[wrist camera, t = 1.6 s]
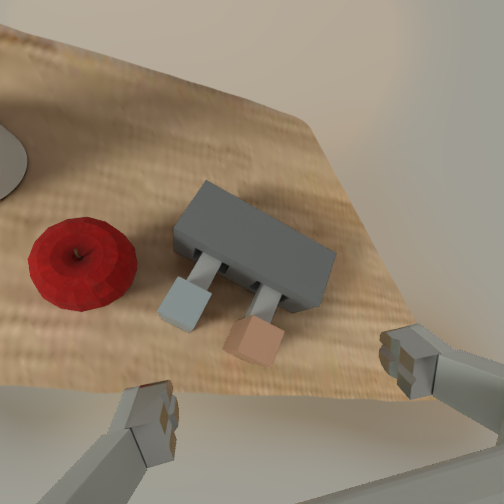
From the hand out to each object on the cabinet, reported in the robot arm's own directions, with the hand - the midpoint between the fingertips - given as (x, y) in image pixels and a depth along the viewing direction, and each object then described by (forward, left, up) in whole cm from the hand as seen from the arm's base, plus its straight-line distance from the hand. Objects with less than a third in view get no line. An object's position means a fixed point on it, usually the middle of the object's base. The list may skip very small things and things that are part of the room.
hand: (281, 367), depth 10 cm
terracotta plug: (+6, +4, -26) cm, 27 cm away
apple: (-14, +9, -27) cm, 31 cm away
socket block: (+5, +13, -26) cm, 30 cm away
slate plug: (-2, +8, -26) cm, 27 cm away
